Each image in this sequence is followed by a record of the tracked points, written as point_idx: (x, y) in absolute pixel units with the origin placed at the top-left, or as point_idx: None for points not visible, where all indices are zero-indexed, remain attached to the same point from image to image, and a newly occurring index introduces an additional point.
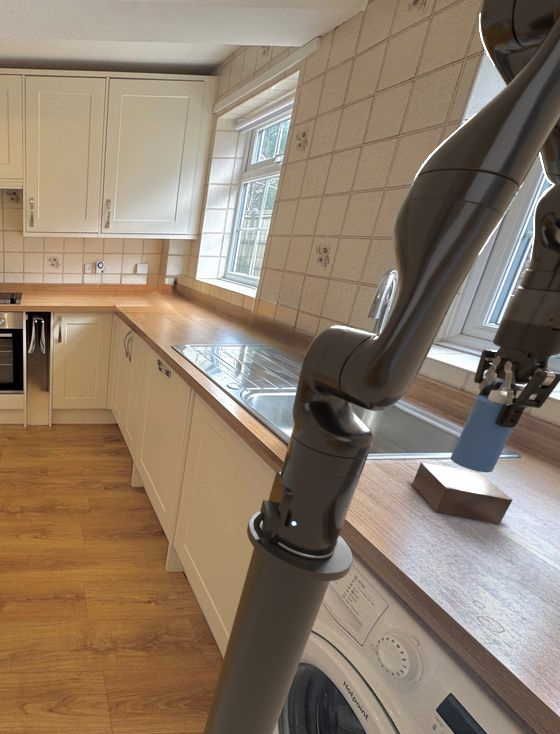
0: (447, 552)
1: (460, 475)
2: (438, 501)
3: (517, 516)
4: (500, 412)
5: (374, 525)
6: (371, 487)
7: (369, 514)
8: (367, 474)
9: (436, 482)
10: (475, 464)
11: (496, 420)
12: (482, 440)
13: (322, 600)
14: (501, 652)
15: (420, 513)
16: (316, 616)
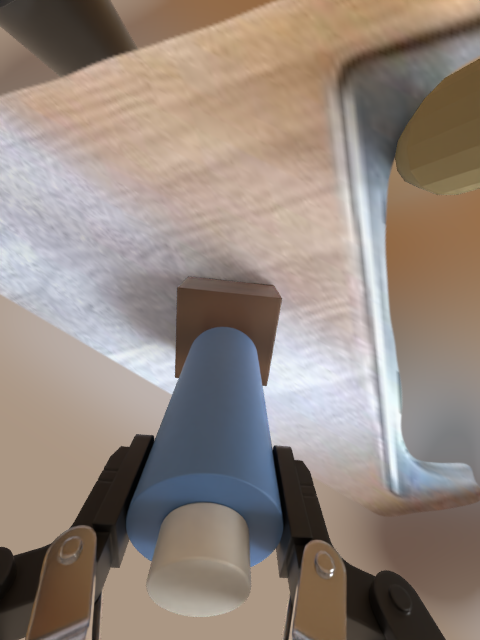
0: (68, 226)
1: None
2: (189, 280)
3: None
4: (130, 475)
5: (96, 125)
6: (242, 194)
7: (133, 134)
8: (295, 212)
9: (211, 288)
10: (189, 351)
11: (147, 443)
12: (179, 381)
13: (10, 34)
14: None
15: (174, 245)
16: (32, 53)
